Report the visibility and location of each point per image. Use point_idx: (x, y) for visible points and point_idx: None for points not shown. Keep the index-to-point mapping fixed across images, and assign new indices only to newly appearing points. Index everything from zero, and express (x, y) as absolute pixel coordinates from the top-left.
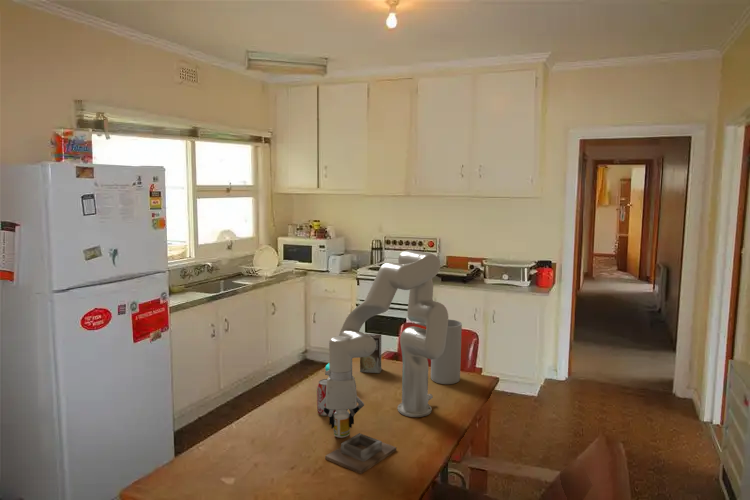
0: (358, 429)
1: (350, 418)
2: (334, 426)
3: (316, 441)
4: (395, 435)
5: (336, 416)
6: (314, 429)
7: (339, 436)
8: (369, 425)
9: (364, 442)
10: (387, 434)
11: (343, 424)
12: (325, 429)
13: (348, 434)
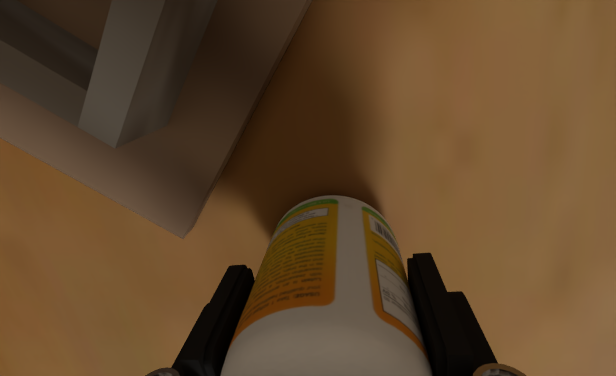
0: None
1: (204, 339)
2: (399, 268)
3: (542, 145)
4: (10, 260)
5: (391, 360)
6: (545, 319)
7: (343, 197)
8: None
9: (72, 51)
10: (57, 270)
11: (294, 264)
12: None
13: (275, 229)
